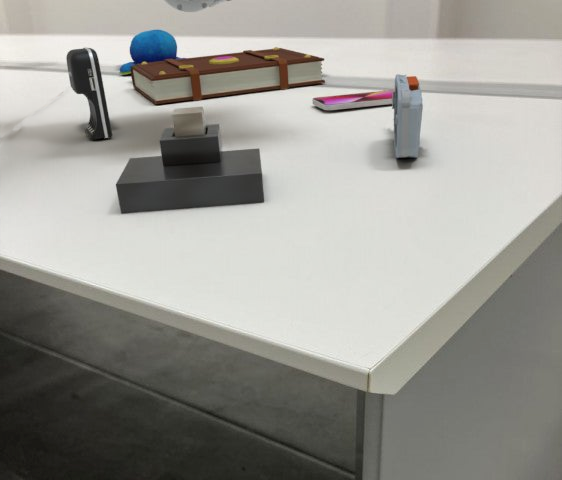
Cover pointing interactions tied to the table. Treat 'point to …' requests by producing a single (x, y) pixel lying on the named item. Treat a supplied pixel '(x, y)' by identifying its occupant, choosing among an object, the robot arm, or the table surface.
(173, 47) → the plush toy
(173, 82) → the book
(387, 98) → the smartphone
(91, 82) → the black curved upright piece
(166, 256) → the table surface
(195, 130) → the beige cube
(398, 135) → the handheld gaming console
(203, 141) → the grey stepped pedestal
